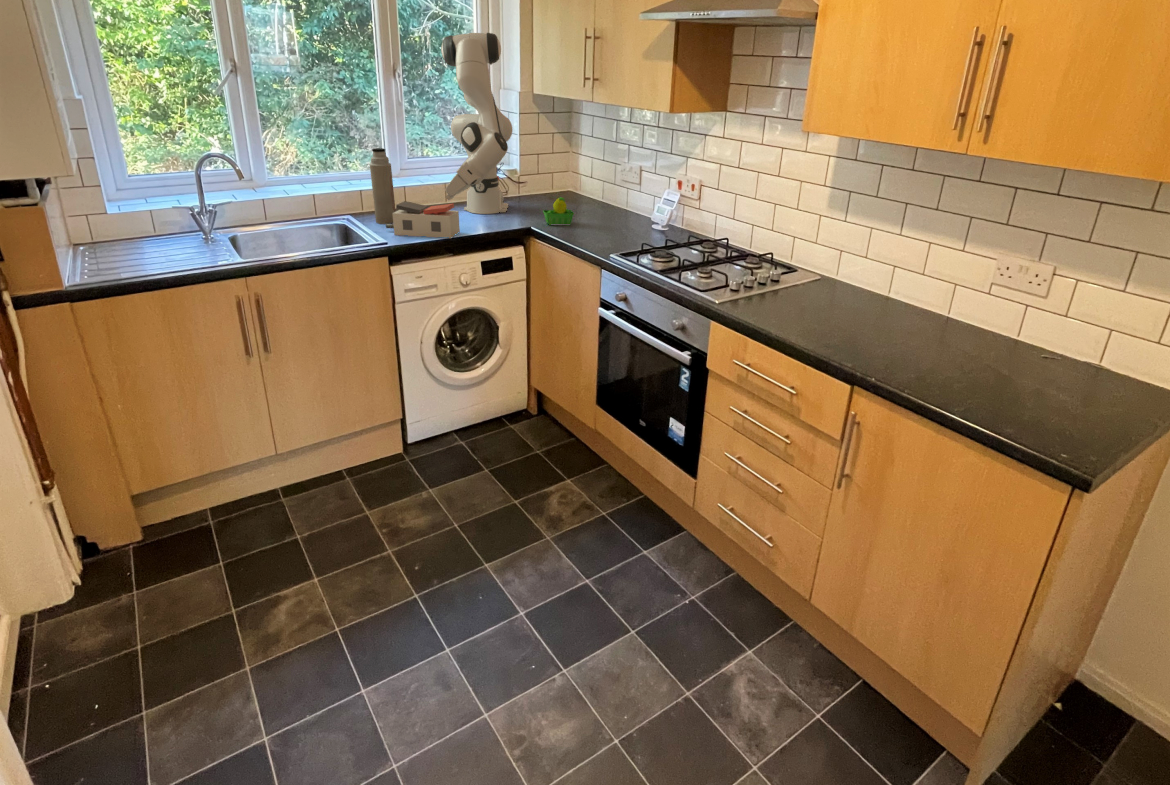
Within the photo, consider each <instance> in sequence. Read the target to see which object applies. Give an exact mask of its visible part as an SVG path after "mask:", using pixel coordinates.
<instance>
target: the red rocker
mask: <svg viewBox="0 0 1170 785" xmlns="http://www.w3.org/2000/svg"><path fill="white" fill-rule="evenodd" d="M452 209H455V203H446V204H439V205H432V206H431V205H430V206H429V207H428V208H427V209H425V210H423V211H424V214H431V213H434V214H438V213H440V212H447V211H449V210H450V211H451V210H452Z"/></svg>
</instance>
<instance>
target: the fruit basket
mask: <svg viewBox="0 0 1170 785" xmlns="http://www.w3.org/2000/svg"><path fill="white" fill-rule="evenodd" d="M567 206H568V205H567V203H566V201H565V198H564V197H562V196H560V197H558V198H556V200H555V201H554V203H553V204H552V207H553V208H552V209H544V210H542V212H543V215H544V220H545V223H546V222H547V223H548V224H549V225H551V224H572V220H573V217H574V211H572V210H571V209H568V208H567ZM547 223H546V224H547ZM548 224H547V225H548Z"/></svg>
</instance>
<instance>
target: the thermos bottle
mask: <svg viewBox="0 0 1170 785" xmlns="http://www.w3.org/2000/svg"><path fill="white" fill-rule="evenodd" d="M371 151H372V157H371V158H370V164H369V170H370V178H371V179H370V180H371V181H370V182H371V189H372V196H373V205H374V206H373V207H374V216H375V217H374V218H375V223H376V224H379V225H386V224H391V223H392V224H393V214H392V213H394V212H396V211H397V210H396V203H395V193H394V182H393V172H392V171H393V170H392V163H390V160H389V157H388V156H387V155H386V148H380V147H378V148H377V147H375V148H371Z"/></svg>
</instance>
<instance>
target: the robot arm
mask: <svg viewBox="0 0 1170 785" xmlns="http://www.w3.org/2000/svg"><path fill="white" fill-rule="evenodd" d="M440 49H441V56H442V58H443V60H444V62H445V63H446V64H447V65H448V66H451V67H455V73H456V74H455V75H456V81H457V84H458V88H459V89H460V91H461V92H462V94H463V99H464V100H465V102H466V103H467V104H468V105H469V106H471V107H472V108H473V109H475V111H477V113H478V114H477V113H464V114H462V113H461V114H458V115H455V116H454V117H453V119H452V121H451V124H450V129H451V131H450V132H451V134H452V136H453V138H455V140H457V142H458V143H460V144H461V146H462V147H463V148H464V150H465V151H466V155H467V157H468V158H466V160H465V161H464V162H463V163H462V164H461V165H460V167H459V168H458V169H457V170H456V174H455V175H454V176H453V177H452V178H451V180H450V181H449V183H448V184H447V185H446V187H445V189H444V192H446V194H447V195H446V196H445V199H447V201H451V200H452V199H453V198H454V197H456V196H457V195H459V194H461V193H462V192H464V191H466V192H467V193H466V206H464V207H463V210H464V211H467V212H469V213H472V214H481V215H490V214H498V213H499V212H500V213H507V212H508V209H509V206H508V205H509V203H507V202H504V201H505V200H504V192H503V191H502V189H501V188H500V186H499V185H500V184H499V182H500V177H499V175H497V173H498V172H497V166H498V164H499V163H500V162H501V161H502V159H504V157H506V156H505V155H506V154H507V151H508V149H509V146H508V143H507V142H508V141H509V140H510V139H511V137H512V135H513V125H512V122H511V121H510V119H509V118H508V117H507V116H505V115H504V114H503V113H502V112H501V110H500V109H499V107H498V106H497V104H496V101H495V97H494V94H493V91H492V86H491V76H490V69H489V65H490V66H491V65H494V64H496V63H497V62H498V61H499V60H500V56H501V54H502V53H501V52H502V47H501V42H500V41H499V38H498V36H497V35H496V34H495V33H492V32H485V33H484V32H469V33H461V34H456V35H455V34H454V35H452V34H451V35H447V36H445V37H444V38H443V39H442V43H441V48H440ZM488 64H489V65H488ZM507 208H508V209H507ZM506 211H507V212H506Z"/></svg>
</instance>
